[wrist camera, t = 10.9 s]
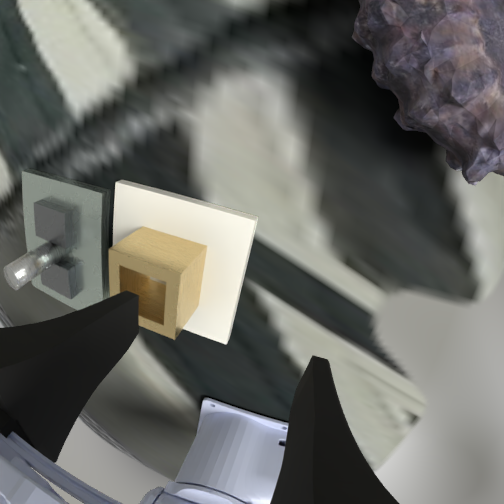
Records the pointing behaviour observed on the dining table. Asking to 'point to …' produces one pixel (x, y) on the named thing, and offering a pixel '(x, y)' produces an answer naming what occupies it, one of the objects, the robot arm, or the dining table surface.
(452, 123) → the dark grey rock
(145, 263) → the tan hollow boxy piece
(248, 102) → the dining table surface
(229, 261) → the board
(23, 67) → the dining table surface
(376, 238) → the dining table surface
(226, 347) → the dining table surface
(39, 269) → the grey plate with post
